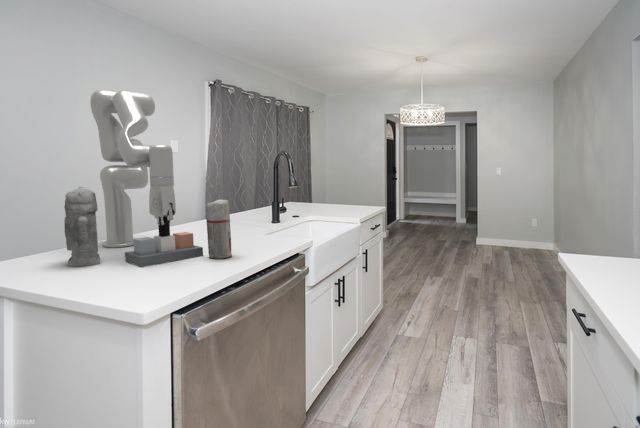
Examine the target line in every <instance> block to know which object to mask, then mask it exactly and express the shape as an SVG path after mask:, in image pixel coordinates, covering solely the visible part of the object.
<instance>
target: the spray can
mask: <svg viewBox="0 0 640 428" xmlns="http://www.w3.org/2000/svg"><path fill="white" fill-rule="evenodd" d="M205 208H206V209H205V211H206V213H205V219H206V232H207V247H208V248H207V250H208V256H209V257H208V258H210V259H214V260H215V259H216V260H217V259H218V260H219V259H226V258H231V257H232V256H233V255H232V236H231V234H232V233H231V218H230V217H231V215H230V201H229V200H227V199H216V200H214V201H213V202H208V203H206V207H205Z"/></svg>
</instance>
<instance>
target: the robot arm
mask: <svg viewBox="0 0 640 428" xmlns="http://www.w3.org/2000/svg"><path fill="white" fill-rule="evenodd" d="M89 104H90V110H91V114H92V116H93V118H94V120H95V121H94V122H95V123H96V126H97V131H98V137H99V138H98V139H99V144H100V145H99V146H100V151H101V152H100V153H101V156H102V159H103V160H104V161H106V162H110V163H125V164H126V165H125V164H121V165H120V164H119V165H118V164H113V165H112V164H111V165H106V166H104V167H103V168H102V169H101V170H100V172H99V178H100V183H101V187H102V192H103V198H104V199H103V200H104V215H105V230H106V241H104V242H103V243H102V246H103V247H104V248H124V247H132V246H134V241H133V239H134V232H133V231H134V230H133V229H134V228H133V211H132V200H131V197H130V196H129V195H128V193H127V192H125V190H137V189H139V190H140V189H143V188H146V187H147V185H148V183H149V187H150V188H149V197H148V199H149V200H148V202H149V203H148V205H149V208H148V209H149V211H148V212H149V214H150V215H151V216H154V218H155V219H156V221H157V225H158V236H161V237H165V236H170V235H171V229H170V227H171V226H170V225H171V221H173V220H174V216H175V215H176V210H177V208H176V207H177V205H176V195H175V190H174V189H175V188H174V187H175V180H174V179H175V178H174V156H173V155H174V154H173V148H172V146H170V145H164V144H152V145H149V144H143V143H142V142H141V140H139V139H137V138H134V137H136V136H139V135H140V134H141V135H142V134H143V133H145V131H146V130H147V128H148V127H149V122H148V119H147V117H150V116H152V115H153V114H154V113H155V109H156V103H155V100H154V98H153V97H152V96H151V95H150V94H149V93H147V92H141V91H132V90H112V89H111V90H110V89H98V90H95V91H94V92H93V93H91V96H90V103H89ZM113 114H117V117H118V118H119V120H118V119H117V118H116V117H115V116H114V115H113ZM148 168H149V171H148Z"/></svg>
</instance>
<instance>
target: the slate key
mask: <svg viewBox="0 0 640 428" xmlns="http://www.w3.org/2000/svg"><path fill="white" fill-rule="evenodd" d="M133 241H134V245H133V251H134V254H136V255H140V256H142V255H148V254H154V253H156V243H155V239H154V237H150V236H147V237H146V236H145V237H138V238H137V237H136V238H133Z"/></svg>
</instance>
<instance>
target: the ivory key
mask: <svg viewBox="0 0 640 428" xmlns="http://www.w3.org/2000/svg"><path fill="white" fill-rule="evenodd" d="M153 238H154V239H155V243H156V251H158V252H166V251H172V250H175V236H173V234H170V236H165V237H161V236H159V235H154V236H153Z"/></svg>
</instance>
